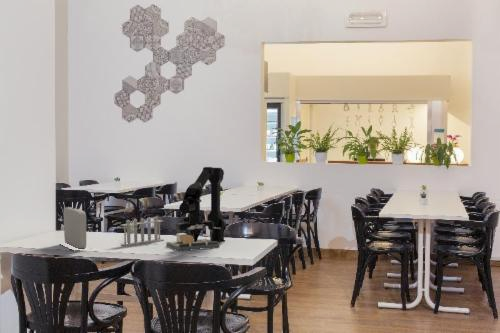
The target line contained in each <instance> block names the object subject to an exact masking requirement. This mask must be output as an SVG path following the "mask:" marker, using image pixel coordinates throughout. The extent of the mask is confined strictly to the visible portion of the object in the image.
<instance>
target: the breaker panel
mask: <svg viewBox="0 0 500 333" xmlns="http://www.w3.org/2000/svg"><path fill="white" fill-rule="evenodd" d="M204 241H207V242H213V241H210V239H207V238H202V239H197V242H194V239H193V243H202V242H204ZM165 244H166V245H165V246H166V247H167V246H168V248H170V249H172V248H173V249H172V250H175V249H176V250H175V251H177V250H179V251H178V252H181V251H180V250H188V251H192V250H191V249H198V250H201V249H200V248H209V249H217V248H216V247H219V248H220V243H219V242H218V244H208V245H196V246H185V247H179V245H180V244H183V242H177V240H176V241H167V242H166V243H165Z"/></svg>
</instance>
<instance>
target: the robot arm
mask: <svg viewBox="0 0 500 333" xmlns="http://www.w3.org/2000/svg"><path fill="white" fill-rule="evenodd" d="M224 175H225V171H224V169H223V168H222V167H212V166H204V167H202V171H201V173H199V176H198V177H197V178H196V180H195V181H194V182H193V183H191V184H190V185H189V186H188V187H187V189H186V190H185V193H184V196H183V199H182V202H181V203H180V205H179V212H180V213H181V214H183V215H182V216H181V222H178V223H176V224H175V229H176V230H179V231H185V230H188V231H189V232H190V235H191V236H193V240H194V242H197V240H199V239H198V238H199V236H200V234H201V232H202V231H203V230H204V228H203V227H207V228H208V231H209V230H210V232H209V233H210V234H209V235H210V236H209V240H210V241H213V242H214V241H217V242H218V243H219V242H225V241H226V239H225V232H224V231H226V230H227V223H226V222H225V220H224V215H223V213H222V211H221V183H222V182H223V180H224ZM207 182H209V183H210V212H209V214H207V216H206V217H207V218H206V219H207V220H203V221H201V216H202V213H201V202H202V199H201V197H202V196H203V193H204V191H203V189H204V187H205V186H206V184H207ZM185 214H187V215H185Z"/></svg>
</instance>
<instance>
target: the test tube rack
mask: <svg viewBox="0 0 500 333" xmlns="http://www.w3.org/2000/svg"><path fill="white" fill-rule="evenodd" d="M162 222H164V220H161V219H159V220H158V216H153V220H152V218H151V217H147V221H145V219H144V218H140V222H138V219H137V218H135V219H133V222H132V223H131V221H130V219H126V223H124V224H120V226H121V227H123V229H124V230H123V233H124V234H123V235H124V238H123V239H124V242H123V243H120V246H122V245H124V246H123V247H129V246H128V245H131V246H136V245H137V244H138V245H144V243H145V244H151V243H158V242H159V243H160V242H165V241H164V240H165V239H164V238H161V223H162ZM145 224H147V240H146V239H145ZM152 224H154V226H153V227H154V228H153V230H154V233H153V234H154V239H153V238H152ZM138 225H140V240H141V241H140V240H138ZM131 226H133V242H131ZM126 243H128V244H126Z"/></svg>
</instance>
